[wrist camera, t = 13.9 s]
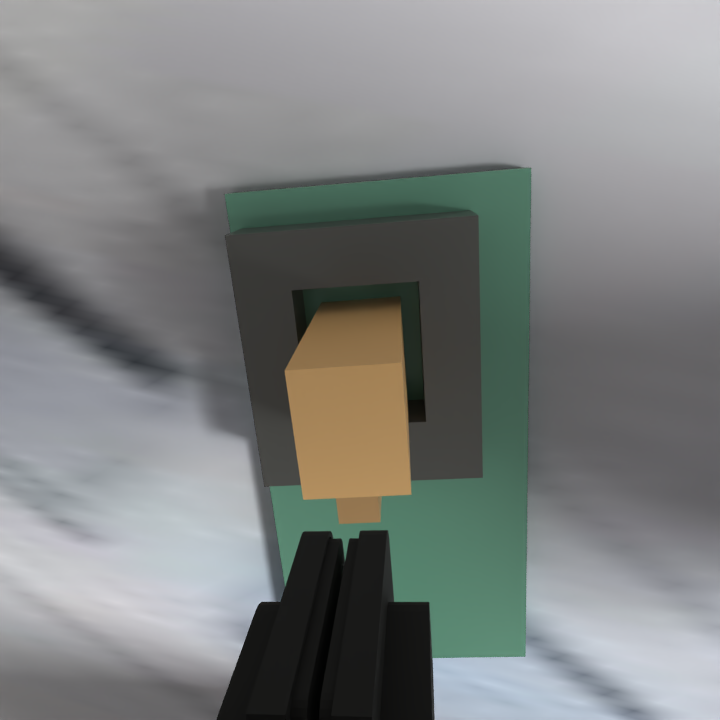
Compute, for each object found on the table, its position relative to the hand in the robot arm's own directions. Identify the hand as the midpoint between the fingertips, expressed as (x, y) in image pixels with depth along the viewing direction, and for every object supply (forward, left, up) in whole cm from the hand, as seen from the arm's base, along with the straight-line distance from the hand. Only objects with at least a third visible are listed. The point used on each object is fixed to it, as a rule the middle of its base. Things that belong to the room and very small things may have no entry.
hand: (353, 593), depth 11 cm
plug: (+1, 0, -16) cm, 16 cm away
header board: (0, +6, -18) cm, 19 cm away
